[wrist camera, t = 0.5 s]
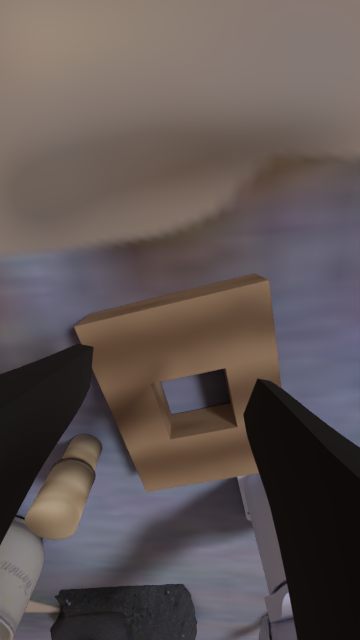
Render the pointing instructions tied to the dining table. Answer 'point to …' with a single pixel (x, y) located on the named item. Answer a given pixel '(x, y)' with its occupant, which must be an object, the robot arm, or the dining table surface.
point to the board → (180, 361)
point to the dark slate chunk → (126, 613)
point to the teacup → (18, 574)
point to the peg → (65, 490)
